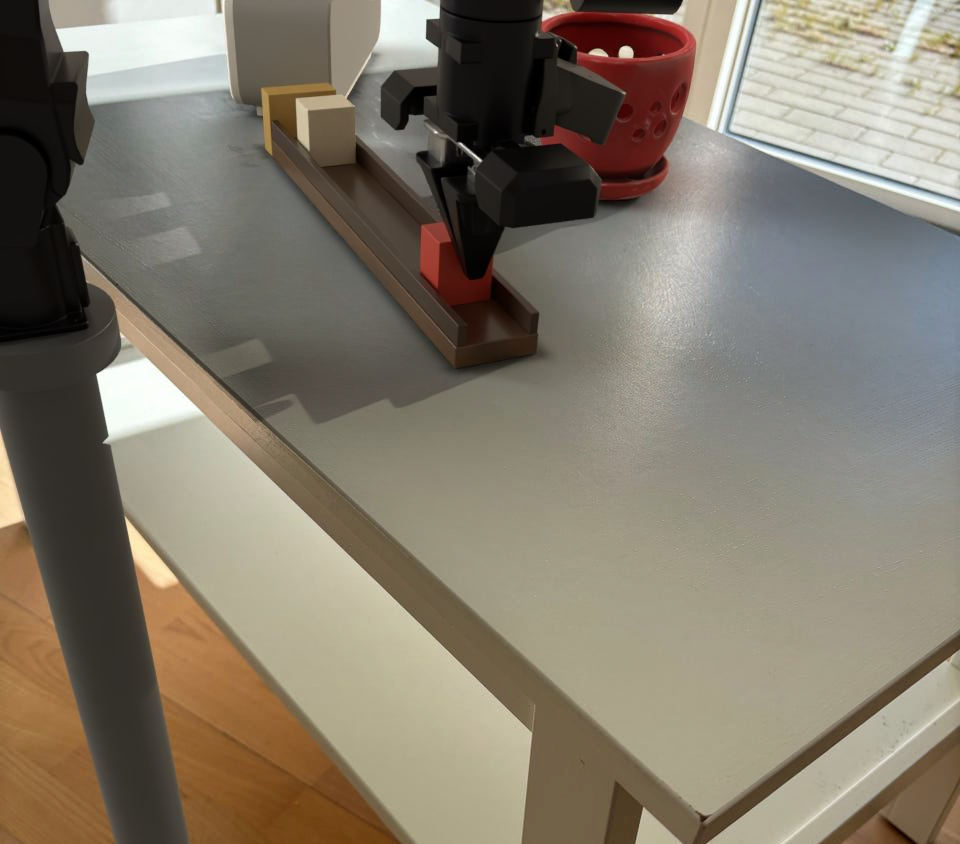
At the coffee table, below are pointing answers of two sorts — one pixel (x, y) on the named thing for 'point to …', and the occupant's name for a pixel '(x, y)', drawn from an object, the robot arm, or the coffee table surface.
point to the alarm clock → (297, 44)
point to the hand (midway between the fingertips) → (473, 277)
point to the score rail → (407, 253)
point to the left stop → (287, 106)
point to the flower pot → (630, 94)
